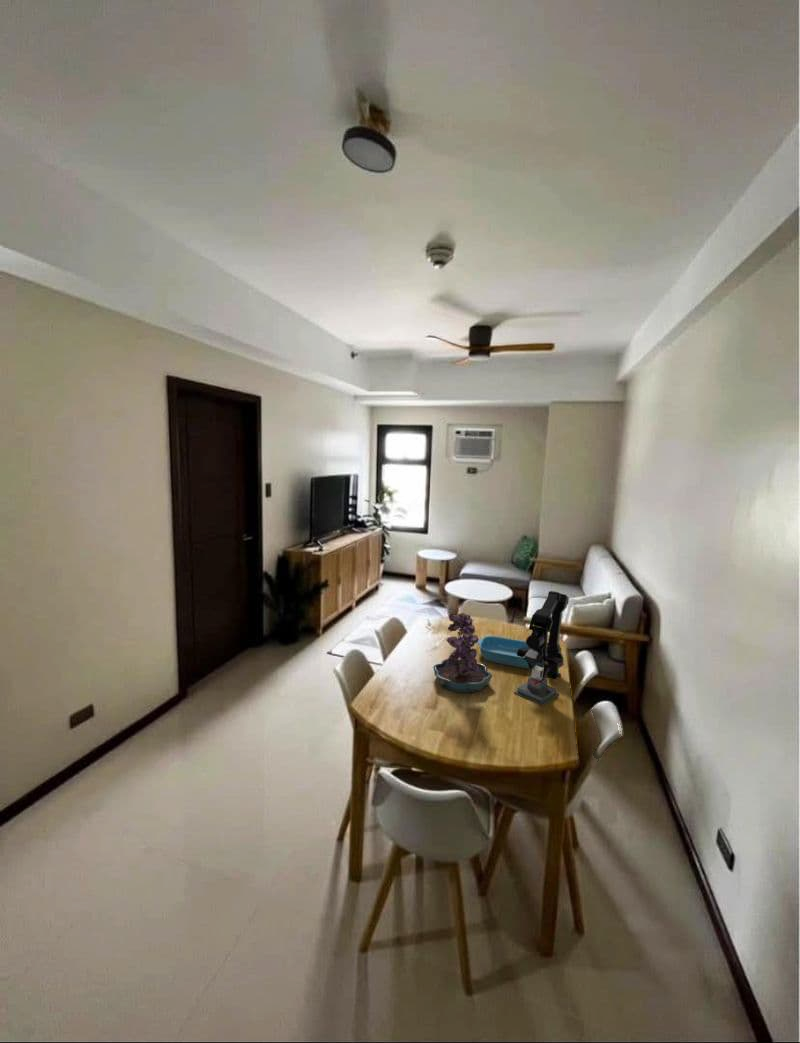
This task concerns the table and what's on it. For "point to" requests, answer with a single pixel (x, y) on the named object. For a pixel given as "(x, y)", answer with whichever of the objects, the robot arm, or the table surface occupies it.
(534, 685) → the jack stand base
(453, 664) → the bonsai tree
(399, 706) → the table surface
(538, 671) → the column
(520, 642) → the casserole dish
